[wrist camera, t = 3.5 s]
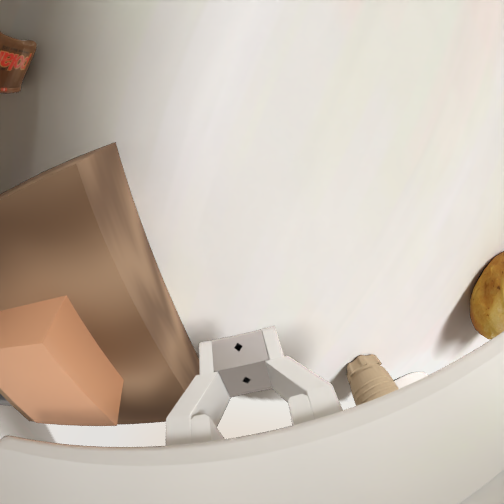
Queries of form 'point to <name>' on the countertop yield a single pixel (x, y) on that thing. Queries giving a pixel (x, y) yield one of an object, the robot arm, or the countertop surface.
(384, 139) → the countertop surface
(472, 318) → the bread roll
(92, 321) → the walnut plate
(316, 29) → the countertop surface
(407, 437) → the robot arm
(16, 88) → the tin
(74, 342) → the terracotta block
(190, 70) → the countertop surface
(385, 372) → the handle
